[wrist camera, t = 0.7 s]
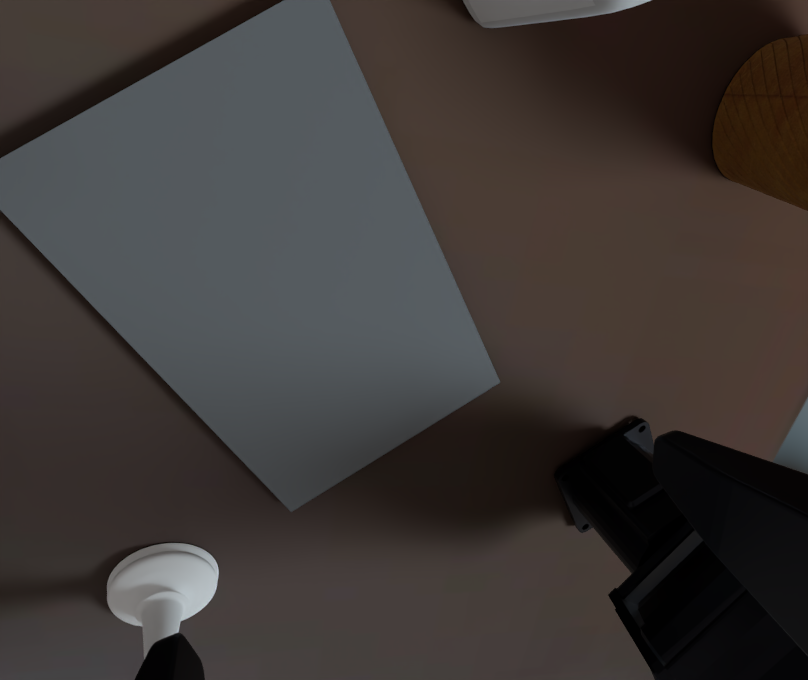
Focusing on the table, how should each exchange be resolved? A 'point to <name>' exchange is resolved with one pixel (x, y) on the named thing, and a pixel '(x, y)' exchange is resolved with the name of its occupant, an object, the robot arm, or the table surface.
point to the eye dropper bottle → (540, 10)
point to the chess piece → (161, 588)
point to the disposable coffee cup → (767, 123)
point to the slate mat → (260, 249)
